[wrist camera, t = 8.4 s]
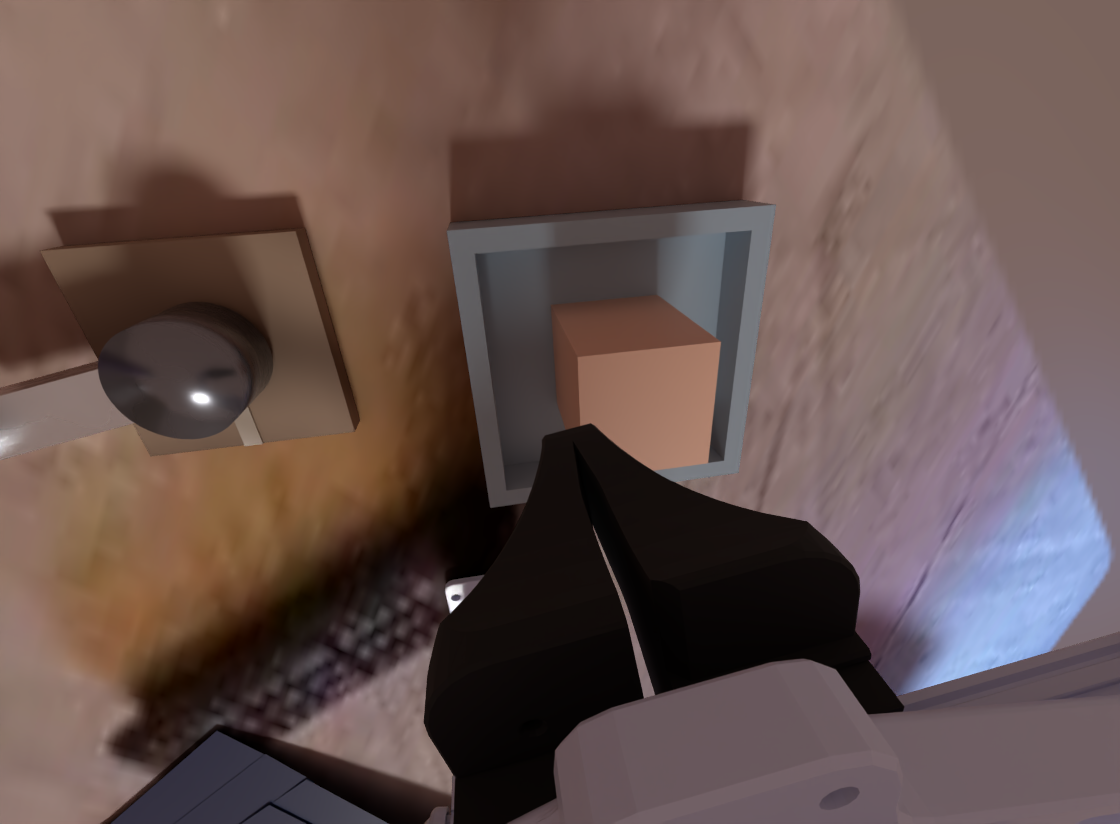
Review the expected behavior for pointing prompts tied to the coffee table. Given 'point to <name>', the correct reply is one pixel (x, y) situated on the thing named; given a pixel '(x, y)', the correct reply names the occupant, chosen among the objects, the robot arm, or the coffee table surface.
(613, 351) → the block
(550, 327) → the tray
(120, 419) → the crank
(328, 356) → the crank base
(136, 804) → the dark grey flat slab
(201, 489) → the coffee table surface
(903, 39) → the coffee table surface
